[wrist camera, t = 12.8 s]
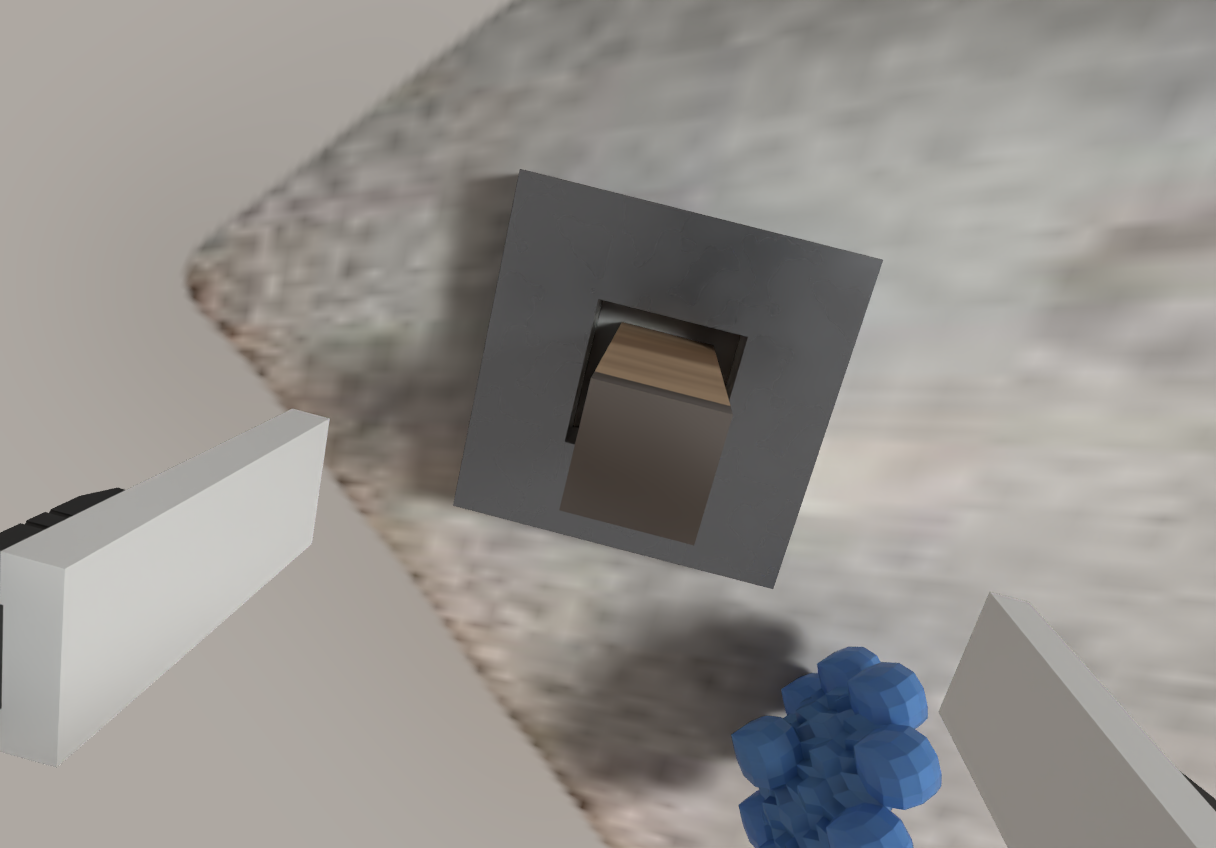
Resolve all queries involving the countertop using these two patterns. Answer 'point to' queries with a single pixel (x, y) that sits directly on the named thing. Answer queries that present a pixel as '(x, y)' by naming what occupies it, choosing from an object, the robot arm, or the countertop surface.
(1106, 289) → the countertop surface
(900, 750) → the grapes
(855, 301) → the gray square hole plate
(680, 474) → the wooden block
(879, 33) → the countertop surface
